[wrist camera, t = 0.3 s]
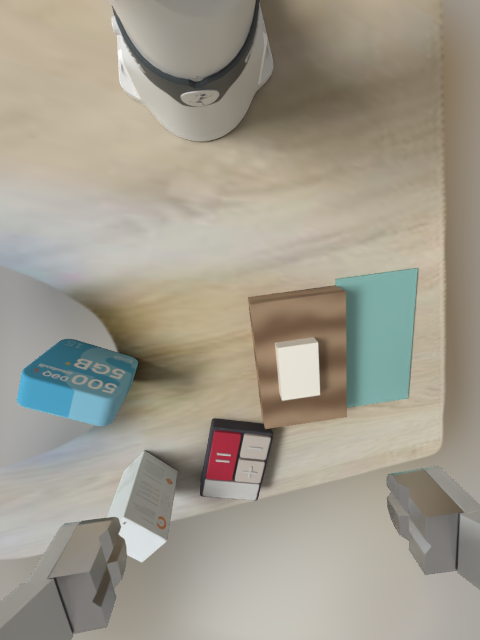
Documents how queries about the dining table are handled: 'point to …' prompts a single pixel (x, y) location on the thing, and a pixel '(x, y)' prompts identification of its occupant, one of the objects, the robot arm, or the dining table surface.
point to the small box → (144, 505)
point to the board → (292, 324)
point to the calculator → (235, 459)
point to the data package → (78, 382)
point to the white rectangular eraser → (298, 368)
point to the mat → (379, 335)
